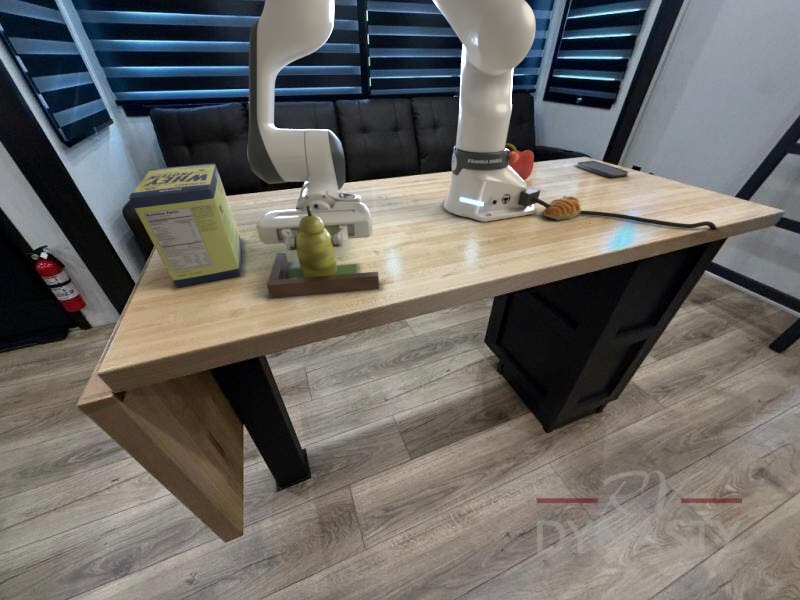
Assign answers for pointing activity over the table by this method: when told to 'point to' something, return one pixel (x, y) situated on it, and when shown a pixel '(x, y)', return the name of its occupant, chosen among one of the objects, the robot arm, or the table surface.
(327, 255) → the pear
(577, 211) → the pastry
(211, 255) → the protein box
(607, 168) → the phone
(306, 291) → the corner guard
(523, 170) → the vegetable
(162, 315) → the table surface
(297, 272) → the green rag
